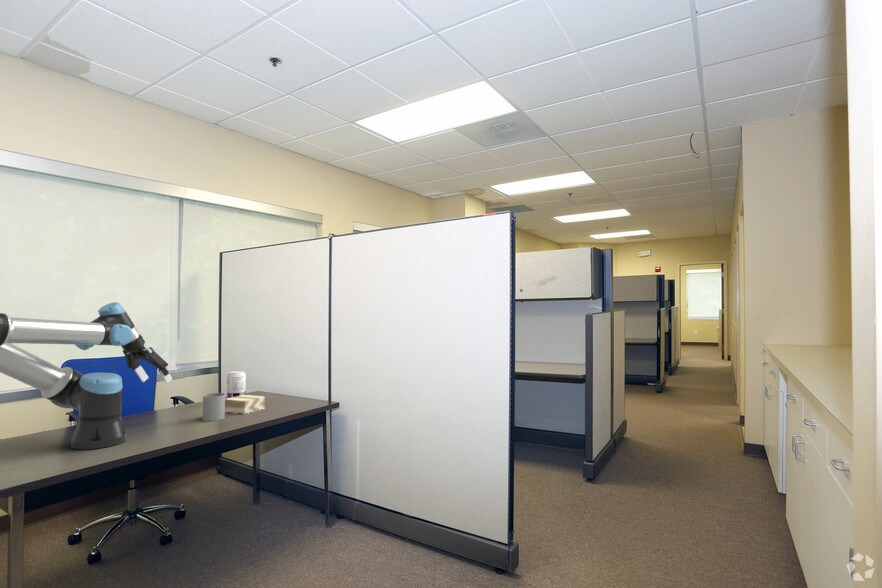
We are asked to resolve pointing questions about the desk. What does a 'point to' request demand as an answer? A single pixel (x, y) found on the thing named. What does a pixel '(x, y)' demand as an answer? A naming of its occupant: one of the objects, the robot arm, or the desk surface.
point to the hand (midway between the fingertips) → (157, 380)
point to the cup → (213, 406)
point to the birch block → (244, 403)
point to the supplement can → (236, 384)
